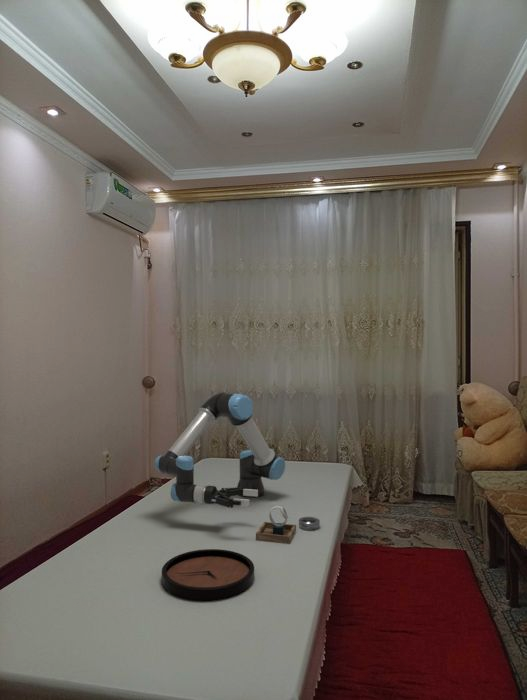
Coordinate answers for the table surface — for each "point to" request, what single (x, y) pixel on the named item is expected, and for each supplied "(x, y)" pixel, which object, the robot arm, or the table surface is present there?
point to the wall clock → (208, 575)
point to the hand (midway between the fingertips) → (253, 498)
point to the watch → (278, 527)
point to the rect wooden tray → (267, 534)
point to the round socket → (309, 523)
